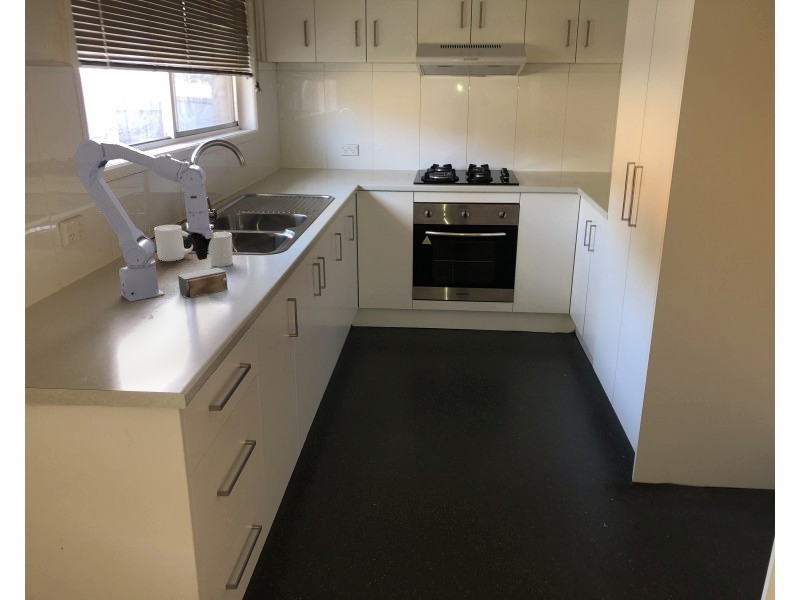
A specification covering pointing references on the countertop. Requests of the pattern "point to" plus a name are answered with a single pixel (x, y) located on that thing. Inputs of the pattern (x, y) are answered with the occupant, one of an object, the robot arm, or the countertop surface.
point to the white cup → (221, 249)
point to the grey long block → (195, 275)
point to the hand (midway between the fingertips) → (202, 259)
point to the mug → (170, 242)
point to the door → (206, 285)
